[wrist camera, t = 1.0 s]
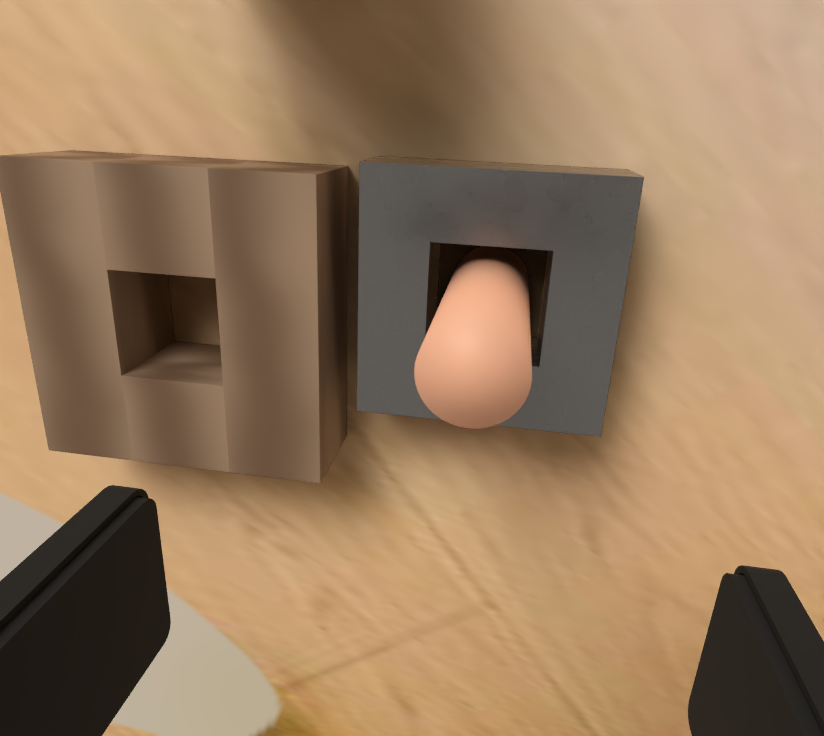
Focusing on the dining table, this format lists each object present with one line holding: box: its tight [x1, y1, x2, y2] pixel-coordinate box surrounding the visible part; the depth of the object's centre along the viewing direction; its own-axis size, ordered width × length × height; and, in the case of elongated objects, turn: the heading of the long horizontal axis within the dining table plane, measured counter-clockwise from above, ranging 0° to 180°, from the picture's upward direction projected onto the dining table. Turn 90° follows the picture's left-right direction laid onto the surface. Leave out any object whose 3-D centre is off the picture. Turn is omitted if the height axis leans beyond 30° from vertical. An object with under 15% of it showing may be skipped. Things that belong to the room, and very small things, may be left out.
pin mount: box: [357, 156, 644, 437], centre depth 29 cm, size 11×11×4 cm
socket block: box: [0, 150, 348, 483], centre depth 31 cm, size 14×14×5 cm
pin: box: [414, 246, 532, 429], centre depth 25 cm, size 4×4×12 cm
